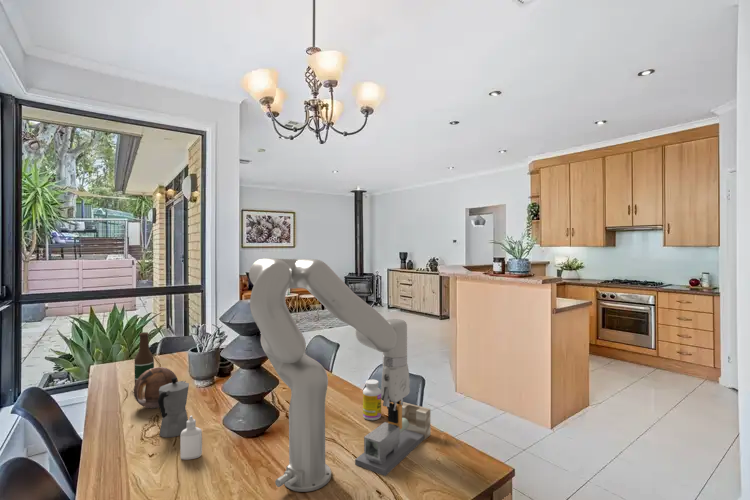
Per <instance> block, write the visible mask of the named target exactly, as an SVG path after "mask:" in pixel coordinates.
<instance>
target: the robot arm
mask: <svg viewBox="0 0 750 500" xmlns="http://www.w3.org/2000/svg"><path fill="white" fill-rule="evenodd" d="M248 277H249V280H250V283H252V285H253V287H252V289H251V293H250V299H249V306H250V307H249V308H250V312H251V316H252V318H253V321H254V322H255V324H256V326H257V329H259V331H260V333H261V334H260V345H261V347H262V350H263V351H264V354H265V355H266V357H267V358H268V360H269V362H270V363H271V366H272V367H273V368H274V371H275V372H276V374H277V375H278V376H279V377H278V378H280V380H281V381H282V382H283V383H284V384H285V385H287V387H288V388H289V389H290V392H291V393H290V394H291V395H290V401H289V406H288V437H289V438H288V440H289V442H288V444H289V445H288V451H289V452H288V455H289V456H288V465H287V466H286V467H285V469H286V470H285V471H284V473H283V475H281V476H279V477H278V478H276V479H275V480H274V481H275V486H276V487H277V488H280V487H282V486H283V485H284V486H285V487H286V488H288V489H289V490H291V491H294V492H299V493H304V492H305V493H306V492H312V491H313V492H314V491H316V490H319V489H321V488H324V486H326V485H327V484H328V483H329V482H330V480H331V479H332V478H331V477H332V470H331V467H330V466H329V465H328V464H326V398H327V391H328V384H329V377H328V373H327V371H326V369H325V368H324V366H323V365H322V364H321V363H320V362H319V361H317V360H316V359H314V358H312V357H311V356H309V355H307V353H306V348H307V343H306V340H305V339H306V338H305V337H304V335H303V333H302V332H301V330H300V328H299V326H298V325H297V323H296V321H295V320H294V318H293V315H292V314H291V313H290V310H289V308H288V305H287V303H286V294H287V291H288V289H306V290H307V291H308V292H309V293H310V294H311V295H312V296H313V298H315V299H317V301H318V302H319V303H320V304H322V305H323V307H324V308H325V309H326V310H328V312H329V313H330V314H331V315H332V316H333V317H335V318H337V320H339V321H341V322H343V323H345V324H347V325H349V326H350V327H353V328H354V329H355V338H356V339H357V341H358V342H359V343H360V344H361V345H363V346H365V347H367V348H370V349H372V350H375V351H377V352H380V353H382V373H381V386H380V390H381V400H383V403H382V406H383V407H386V409H387V422H388V421H389V422H393V423H398V410H397V404H400V405H402V406H403V402H404V398H406V397H407V396H408V395H409V394H410V391H411V389H410V388H411V387H410V370H409V366H408V365H409V364H408V324H407V322H406V321H405V320H403V319H398V318H391V319H386V318H385V317H384V316H382V314H381V313H380V312H379V311H377V310H376V309H375V308H373V306H371V305H370V304H368V303H367V302H366V301H365V300H363V299H362V298H361V297H360V296H358V295H357V294H356V293H355V292H354V291H353V290H352V289H351V288H350V287H349V286H348V285H347V284H346V283H345V282H344V280H342V279H341V278H340V277H339V276H338V275H337V273H336V272H335V271H334V270H333V269H332V268H331V267H330V266H329V265H328V264H327V263H326V262H324V261H323V260H320V259H314V258H271V257H269V258H268V257H265V258H259V259H257V260H256V261H254V262H253V264H252V265H251V266H250V268H249V271H248ZM390 402H393V403H390Z"/></svg>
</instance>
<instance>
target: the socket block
mask: <svg viewBox="0 0 750 500" xmlns="http://www.w3.org/2000/svg"><path fill="white" fill-rule="evenodd" d="M402 418H406V419H407V420H408V422H409V426H408V428H406V430H410V431H413V432H416V433H420V434H423V435H424V440H427V438H428V437H430V436H431V434H432V433H431V432H432V431H431V426H432V425H431V408H428V407H424V406H421V405H418V404H417V405H416V404H412V403H408V402H405V401H403V406H402ZM424 440H423V441H424Z"/></svg>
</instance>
